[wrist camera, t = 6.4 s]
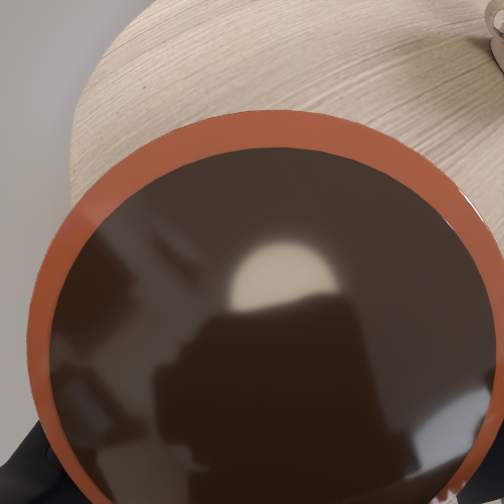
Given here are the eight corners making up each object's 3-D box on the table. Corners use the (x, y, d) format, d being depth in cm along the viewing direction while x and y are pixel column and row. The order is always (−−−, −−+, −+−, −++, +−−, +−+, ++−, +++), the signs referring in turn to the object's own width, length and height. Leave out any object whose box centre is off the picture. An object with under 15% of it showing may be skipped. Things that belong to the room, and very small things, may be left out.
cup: (355, 384, 11) (476, 525, 2) (203, 396, 11) (93, 551, 2) (344, 231, 12) (485, 113, 3) (189, 246, 12) (21, 163, 3)
